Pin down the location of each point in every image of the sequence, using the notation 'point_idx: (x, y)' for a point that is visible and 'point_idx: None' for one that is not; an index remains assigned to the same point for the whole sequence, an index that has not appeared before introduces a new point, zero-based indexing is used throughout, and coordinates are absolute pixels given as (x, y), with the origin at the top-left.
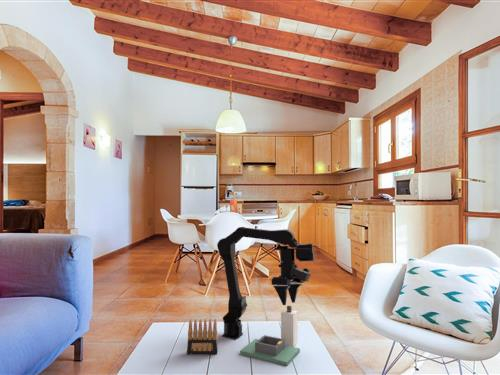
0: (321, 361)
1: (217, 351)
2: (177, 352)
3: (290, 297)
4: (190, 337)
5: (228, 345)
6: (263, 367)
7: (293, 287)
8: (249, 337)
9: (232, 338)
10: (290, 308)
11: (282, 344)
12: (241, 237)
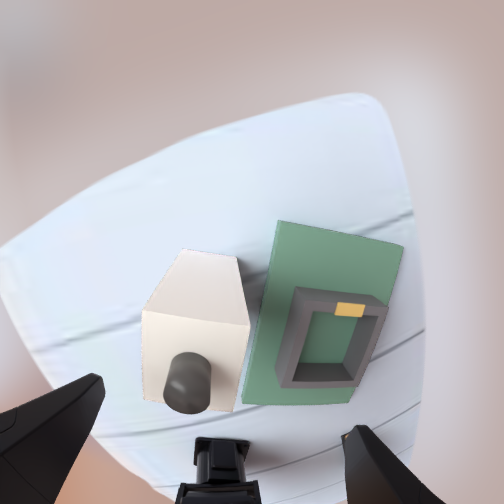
0: (333, 126)
1: (343, 436)
2: None
3: (86, 436)
4: None
5: (293, 438)
6: (411, 309)
7: (11, 489)
8: (210, 418)
9: (248, 447)
10: (203, 377)
11: (327, 297)
12: None
